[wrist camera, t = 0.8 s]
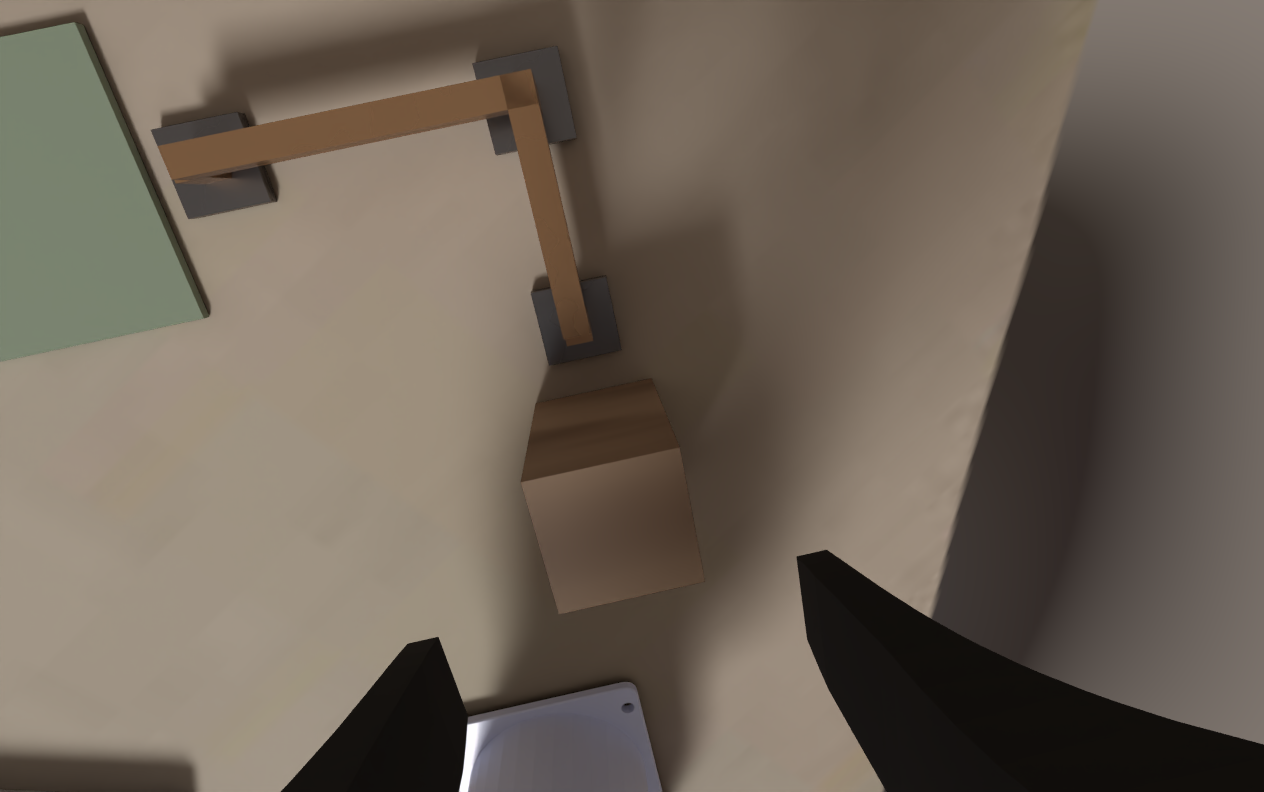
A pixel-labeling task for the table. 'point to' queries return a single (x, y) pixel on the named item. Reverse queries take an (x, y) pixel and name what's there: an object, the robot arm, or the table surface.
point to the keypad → (21, 791)
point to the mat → (77, 207)
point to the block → (609, 497)
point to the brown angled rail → (503, 94)
